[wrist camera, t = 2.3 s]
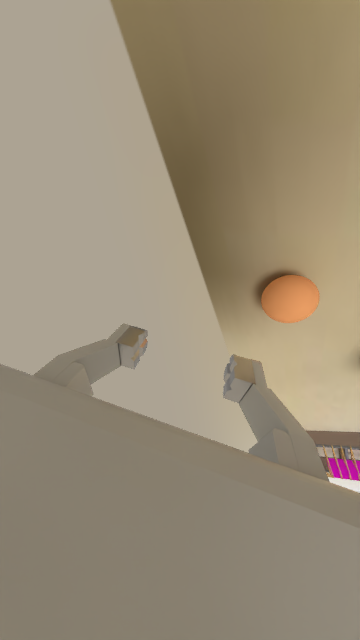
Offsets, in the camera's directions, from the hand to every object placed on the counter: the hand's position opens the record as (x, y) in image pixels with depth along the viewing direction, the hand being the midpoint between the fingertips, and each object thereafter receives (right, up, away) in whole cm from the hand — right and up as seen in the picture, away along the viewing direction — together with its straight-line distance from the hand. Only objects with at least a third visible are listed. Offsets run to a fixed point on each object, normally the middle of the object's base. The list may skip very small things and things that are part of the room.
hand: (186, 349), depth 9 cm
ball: (+12, +4, +9) cm, 16 cm away
